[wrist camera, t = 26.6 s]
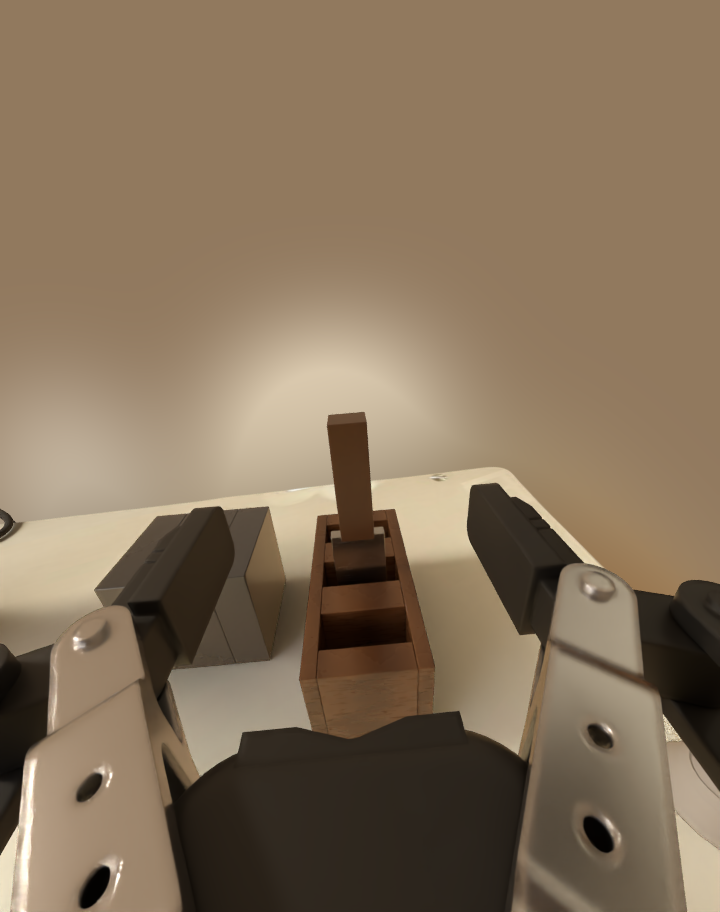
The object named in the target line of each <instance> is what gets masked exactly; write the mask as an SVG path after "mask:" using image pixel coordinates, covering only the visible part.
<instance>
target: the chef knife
mask: <svg viewBox="0 0 720 912" xmlns="http://www.w3.org/2000/svg"><path fill="white" fill-rule="evenodd" d="M327 430H328V437H329V446H330V454H331V461H332V470H333V478H334V486H335V494H336V502H337V510H338V518H339V526H340V530H339V531H331V543H332V550H333V557H334V564H335V571H336V578H337V585H338V586H342V585H353V584H364V583H375V582H385V581H387V573H386V553H385V533H384V528H383V527H374V524H373V510H372V495H371V480H370V467H369V466H370V465H369V451H368V435H367V422H366V417H365V413H364V412H359V413H348V414H335V415H329V416H328V422H327Z"/></svg>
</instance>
